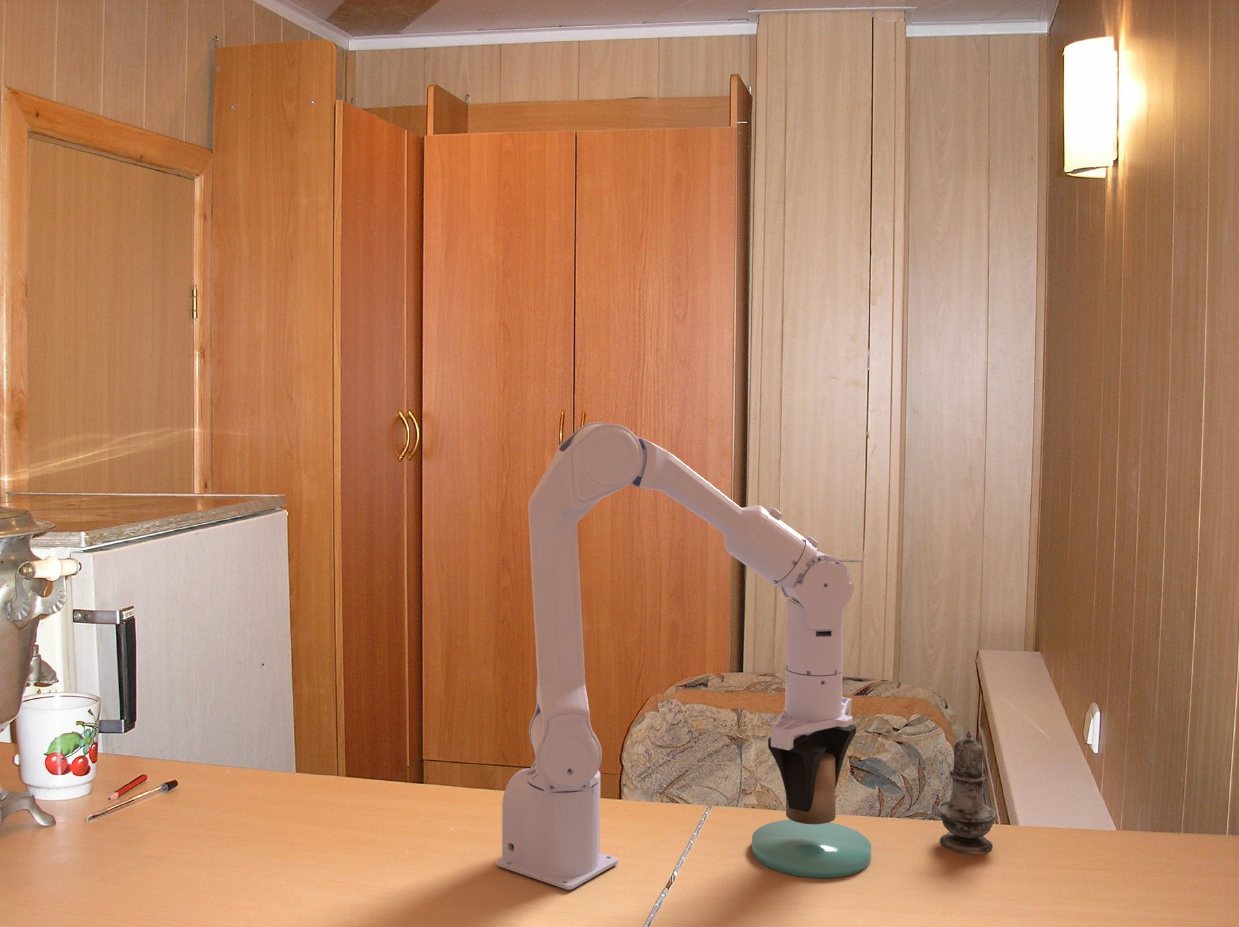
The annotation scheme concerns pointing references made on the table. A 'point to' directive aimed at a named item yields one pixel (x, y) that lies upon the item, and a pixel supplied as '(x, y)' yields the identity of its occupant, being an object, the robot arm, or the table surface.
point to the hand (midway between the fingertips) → (811, 800)
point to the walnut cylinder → (819, 796)
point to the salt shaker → (967, 802)
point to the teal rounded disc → (811, 849)
